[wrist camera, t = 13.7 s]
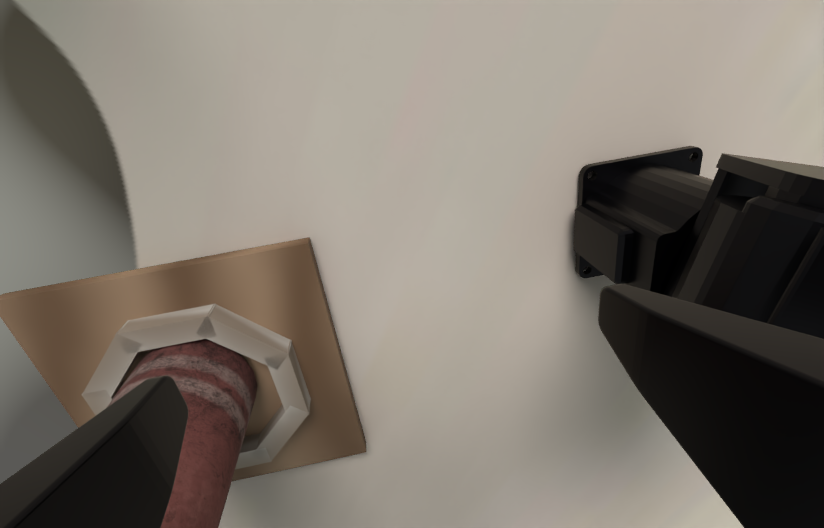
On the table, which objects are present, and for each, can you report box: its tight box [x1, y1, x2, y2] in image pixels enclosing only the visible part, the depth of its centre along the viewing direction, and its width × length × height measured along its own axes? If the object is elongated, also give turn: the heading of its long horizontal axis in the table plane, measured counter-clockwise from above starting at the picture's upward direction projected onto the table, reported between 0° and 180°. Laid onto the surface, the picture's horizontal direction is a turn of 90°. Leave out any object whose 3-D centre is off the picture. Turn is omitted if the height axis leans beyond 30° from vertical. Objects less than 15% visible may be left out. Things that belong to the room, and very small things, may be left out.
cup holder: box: [0, 238, 366, 481], centre depth 23 cm, size 15×15×2 cm
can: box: [106, 339, 257, 528], centre depth 16 cm, size 6×6×14 cm
